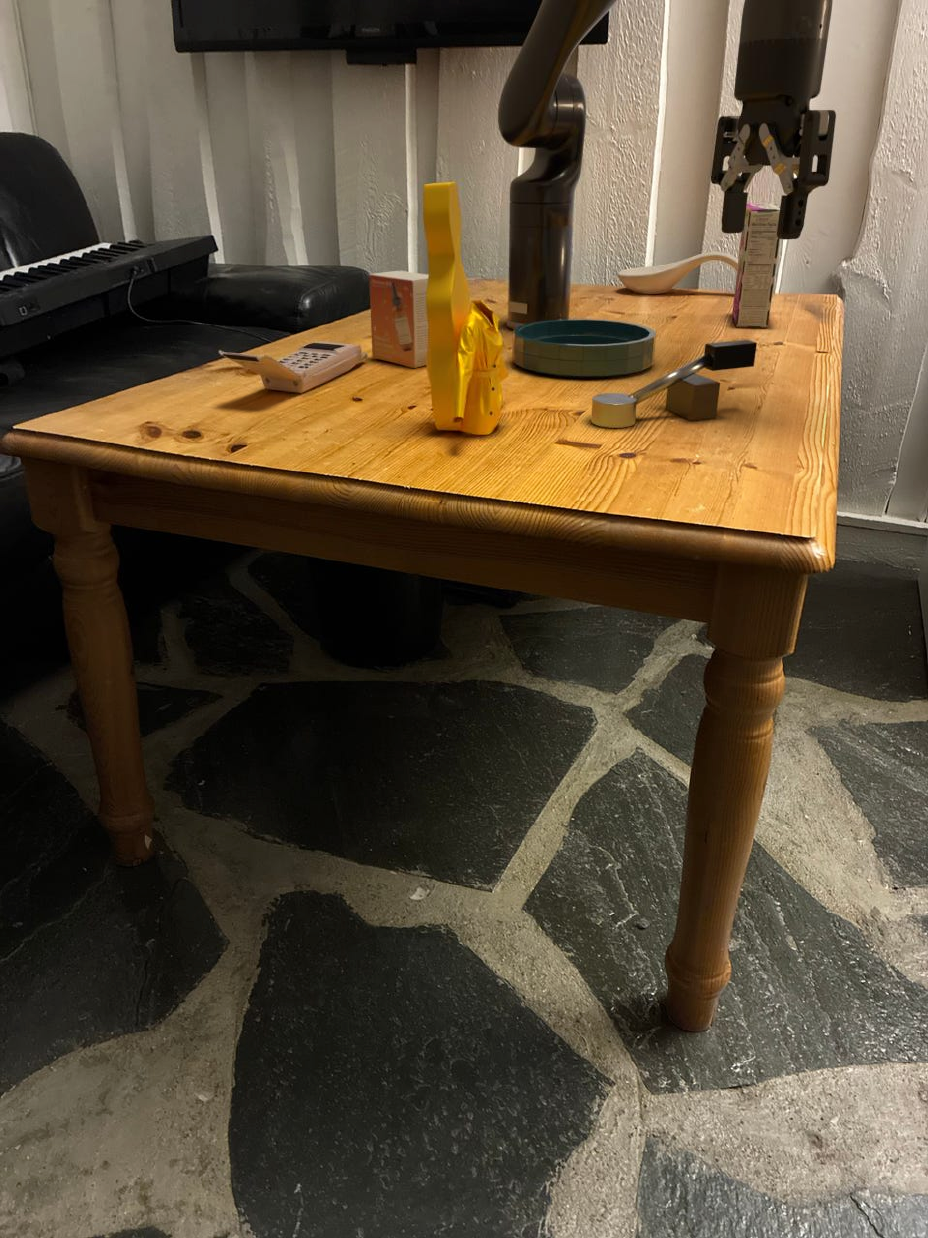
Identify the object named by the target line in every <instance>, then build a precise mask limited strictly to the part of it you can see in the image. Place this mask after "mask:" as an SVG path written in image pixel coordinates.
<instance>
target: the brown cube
mask: <svg viewBox="0 0 928 1238" xmlns="http://www.w3.org/2000/svg"><path fill="white" fill-rule="evenodd" d="M710 261H711V262H712V261H720V262H723V263H726V264H727V265H729V266H731V267H732V268H733V269H734V270H735V271H736V272H737V267H738V257H735V255H732V254H729V253H726V252H723V251H717V250H715V251H714V250H713V251H706V252H702V253H699V254H696V255H694V256H690V257H688V258H686V259H683V260H679V261H676V262H671V263H667V264H659V265H648V266H639V267H630V268H625V269H622V270H620V271H618V272H617V273H616V275H617V277H618V279H619V281H620V282H621V283H622V285H623V286H625V287H626V288H627V289H629V290H631V291H632V292H634V293H635V294H643V295H659V294H660V295H661V294H666V293H668V292H669V291H670V290H671V289H673V288H674V287H675V286H677V284H678V283H679V282H680V281H682V280H683V279H684V278H685V277H686V276H687V275H688V274H690V273H691V272H692V271H693V270H694V269H696V268H697V267H698V266H701V265H702V264H704V263H707V262H710Z"/></svg>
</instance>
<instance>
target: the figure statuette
mask: <svg viewBox="0 0 928 1238" xmlns="http://www.w3.org/2000/svg"><path fill="white" fill-rule="evenodd" d="M457 184H458V183H457V182H456V181H446V182H445V181H443V182H433V183H432V182H431V183H425V184H424V185H423V189H422V190H423V191H422V194H423V195H422V197H423V198H422V201H423V202H422V218H423V219H422V220H423V226H424V234H425V239H426V249H427V263H428V264H427V265H428V275H429V277H428V285H427V293H426V314H427V322H428V344H427V358H426V365H425V366H426V372H427V377H428V380H429V385H430V397H431V398H430V399H431V406H432V407H431V408H432V415H433V421H434V426H435V428H436V430H437V431H460V432H463V433H467V434H472V435H477V436H479V435H481V436H482V435H483V436H485V435H490V434H492V433H493V432H494V430H495V429H496V428H497V426H498V424H499V421H500V416H501V411H502V405H503V388H502V383H501V382H502V381H504V380H505V379H506V378H508V377H509V372H508V369H507V367H506V363H505V361H504V358H503V356H502V355H503V352H504V347H505V341H504V339H503V336H502V333H501V332H500V330H499V321H500V317H499V316H498V315H497V313H495V312H494V310H493V309H491V307H489V306H488V305H487V304H486V303H485V302H484V301H483V300H481V299H478V300H471V293H470V287H469V283H468V279H467V277H466V273H465V272H466V271H465V269H464V265H463V261H462V253H461V247H462V246H461V245H462V244H461V243H462V212H461V203H460V197H459V190H458V185H457Z"/></svg>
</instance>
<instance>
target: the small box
mask: <svg viewBox="0 0 928 1238" xmlns="http://www.w3.org/2000/svg"><path fill="white" fill-rule="evenodd" d="M368 276H369V300H370V302H369V303H370V307H369V308H370V329H371V331H370V333H371V354H372V356H371V357H372V359H375V360H382V361H386V362H388V363H389V362H390V363H392V364H393V363H394V364H397V365H401V366H405V367H408V368H411V369H417V368H420V367H424V366H425V367H426V366H427V365H426V358H427V344H428V322H427V314H426V293H427V285H428V277H429V273H418V272H409V271H405V270H392V271H385V272H375V273H369V275H368Z"/></svg>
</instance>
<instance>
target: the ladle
mask: <svg viewBox="0 0 928 1238" xmlns="http://www.w3.org/2000/svg"><path fill="white" fill-rule="evenodd" d="M757 345H758V343H757V342H755V341H752V340H749V339H740V340H732V341H731V340H729V341H721V342H711V343H710V342H709V343H705V345H704V352H703V355H701V356H700V357H698V358H696V359H694V360H692V361H690V362H688V363H687V364H686V363H685V365H682V366H680V367H678V368H677V369H675V370H673V371H671V372H670V373H668V374H666V375H664V376H662V377H661V378H658V379H656V380H655V381H653V382H650V383H649V384H647V385H645V386H644V387H641V388H639V389H638V390H636V391H634V392H631V393H630V394H627V393H620V392H605V393H599V394H595V395H594V396H593V397H592V399H591V416H590V419H591V420H590V422H591V424H593V425H594V426H598V427H601V428H606V429H623V428H628V427H632V426H634V425H635V424H636V418H637V416H636V415H637V405H638V404H641V403H643V402H644V401H646V400H648V399H650V398H652V397H654V396H656V395H657V394H659V393H661V392H663V391H665V390H667V388H669V387H671V386H672V385H674V384H676V383H678V382H680V381H682V380H684V379H685V378H687V377H689V376H691V375H693V374H695V373H696V374H698V372H700V371H703V370H704V369H706V370H709V371H711V372H716V371H726V370H734V369H744V368H753V367H754V366H755V360H756V352H757Z"/></svg>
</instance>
